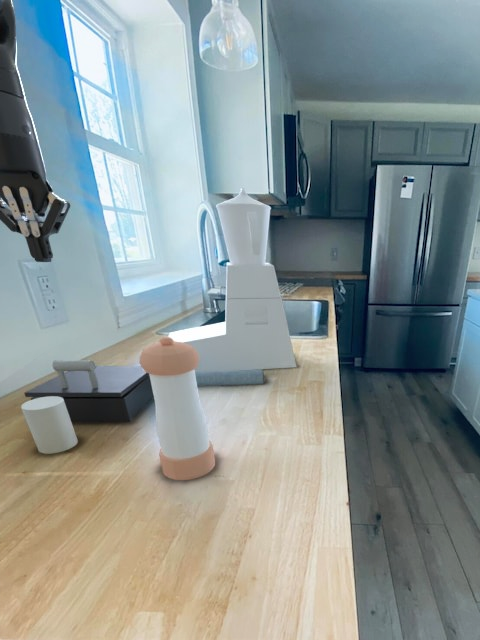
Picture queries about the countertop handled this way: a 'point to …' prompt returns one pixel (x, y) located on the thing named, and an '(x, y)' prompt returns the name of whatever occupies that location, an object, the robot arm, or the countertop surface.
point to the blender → (245, 299)
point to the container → (50, 424)
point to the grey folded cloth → (230, 377)
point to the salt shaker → (178, 409)
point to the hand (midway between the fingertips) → (43, 261)
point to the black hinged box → (110, 405)
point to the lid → (89, 380)
